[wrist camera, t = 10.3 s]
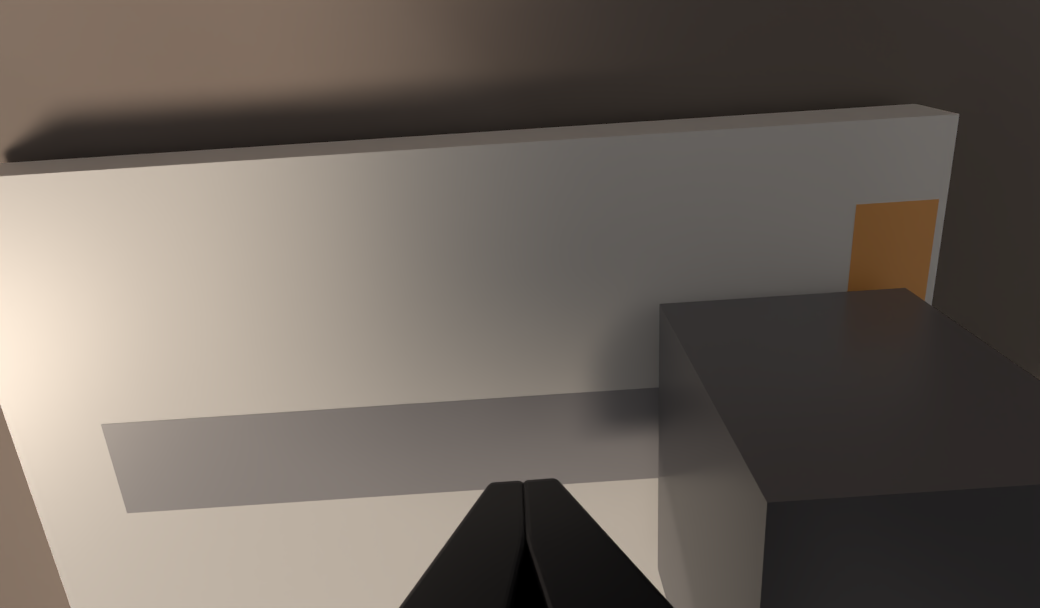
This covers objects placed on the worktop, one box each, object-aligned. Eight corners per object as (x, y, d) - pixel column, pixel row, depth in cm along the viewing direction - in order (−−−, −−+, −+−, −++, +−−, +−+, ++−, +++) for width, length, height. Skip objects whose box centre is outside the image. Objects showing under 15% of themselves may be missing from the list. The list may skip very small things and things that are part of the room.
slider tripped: (905, 287, 9) (1175, 475, 6) (870, 554, 11) (1068, 844, 7) (659, 304, 9) (766, 501, 6) (658, 568, 11) (742, 867, 7)
